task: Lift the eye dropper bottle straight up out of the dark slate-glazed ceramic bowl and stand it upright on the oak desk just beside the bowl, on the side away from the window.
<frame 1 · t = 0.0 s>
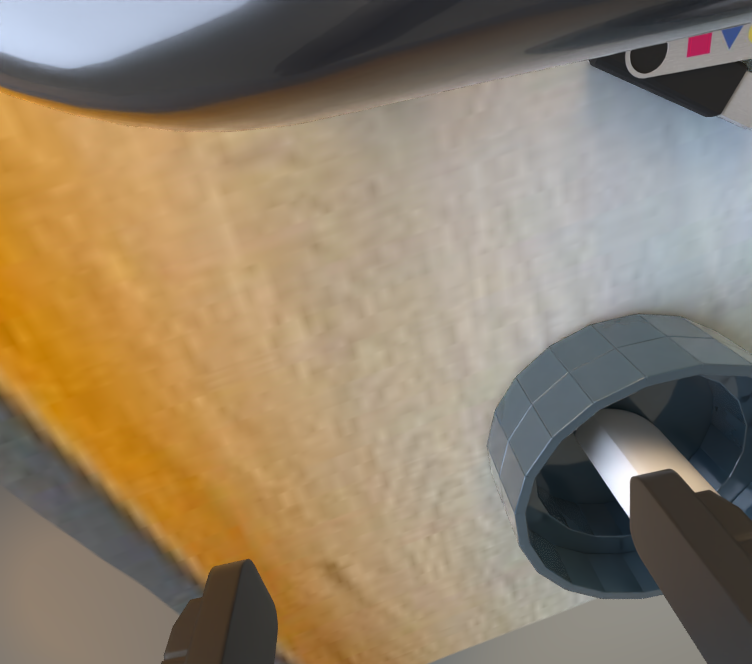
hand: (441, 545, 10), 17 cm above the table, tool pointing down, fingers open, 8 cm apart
bowl: (612, 427, 31), on the table
eye dropper bottle: (614, 430, 31), resting on bowl
usb flash drive: (693, 37, 22), on the table
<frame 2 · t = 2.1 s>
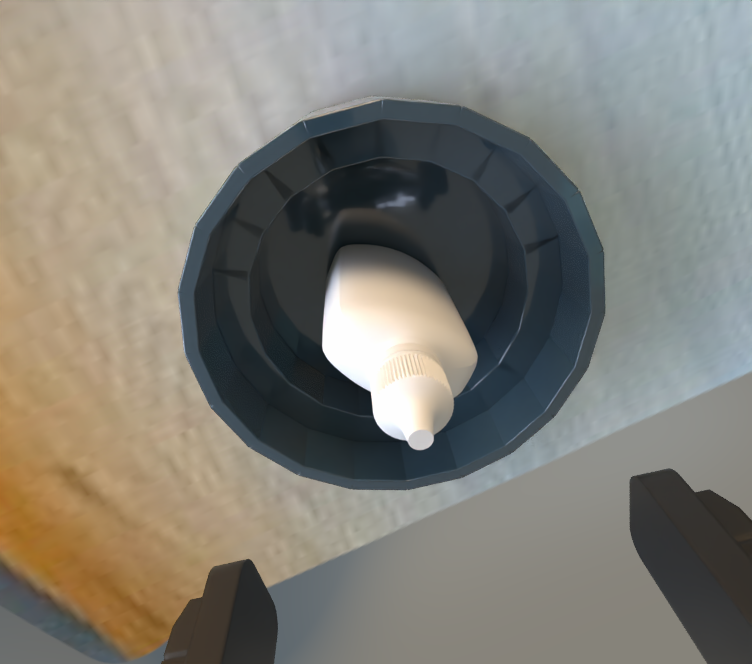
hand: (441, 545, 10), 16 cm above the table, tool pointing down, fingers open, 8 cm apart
bowl: (384, 278, 24), on the table
eye dropper bottle: (385, 280, 24), resting on bowl
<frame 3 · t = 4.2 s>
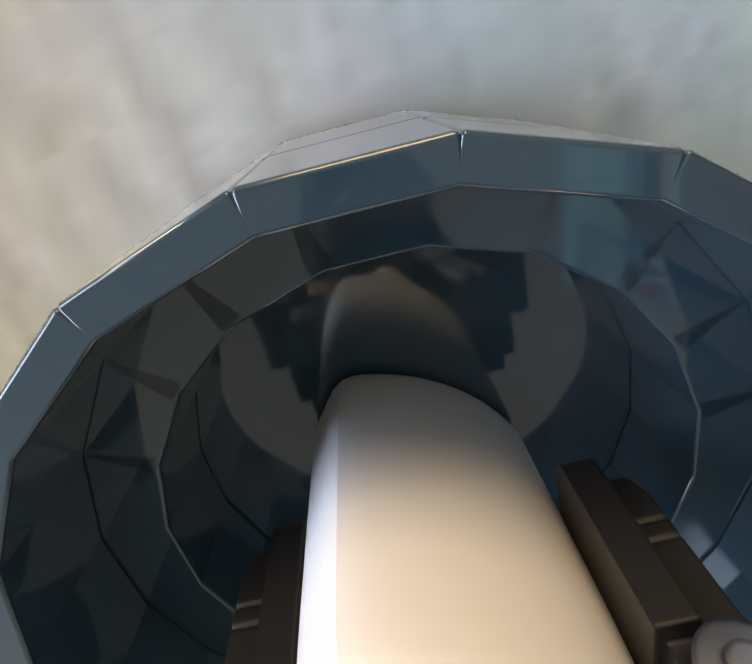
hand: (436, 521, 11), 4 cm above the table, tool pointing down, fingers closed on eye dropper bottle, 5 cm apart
bowl: (415, 419, 14), on the table
eye dropper bottle: (416, 424, 14), resting on bowl, touching gripper
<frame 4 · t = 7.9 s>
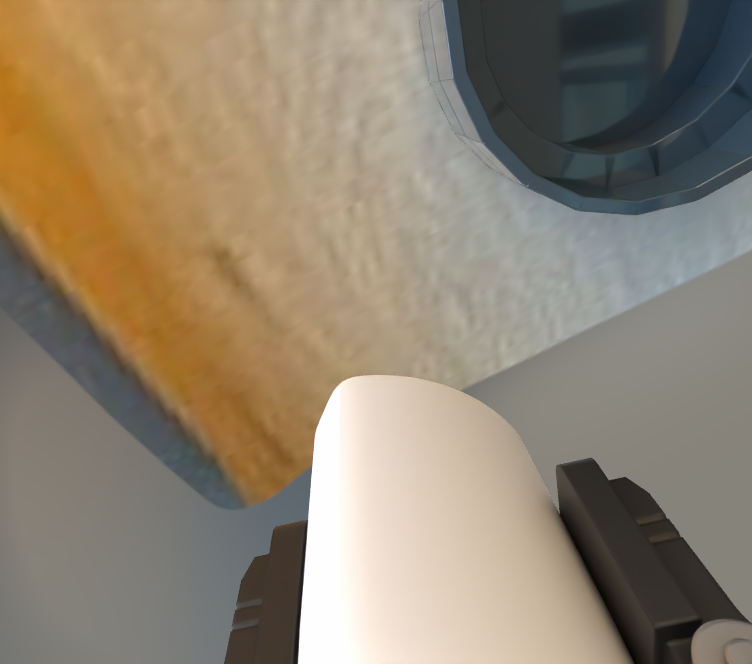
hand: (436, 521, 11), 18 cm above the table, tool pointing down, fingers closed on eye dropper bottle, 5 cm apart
bowl: (595, 6, 22), on the table
eye dropper bottle: (417, 425, 14), point 15 cm above the table, touching gripper
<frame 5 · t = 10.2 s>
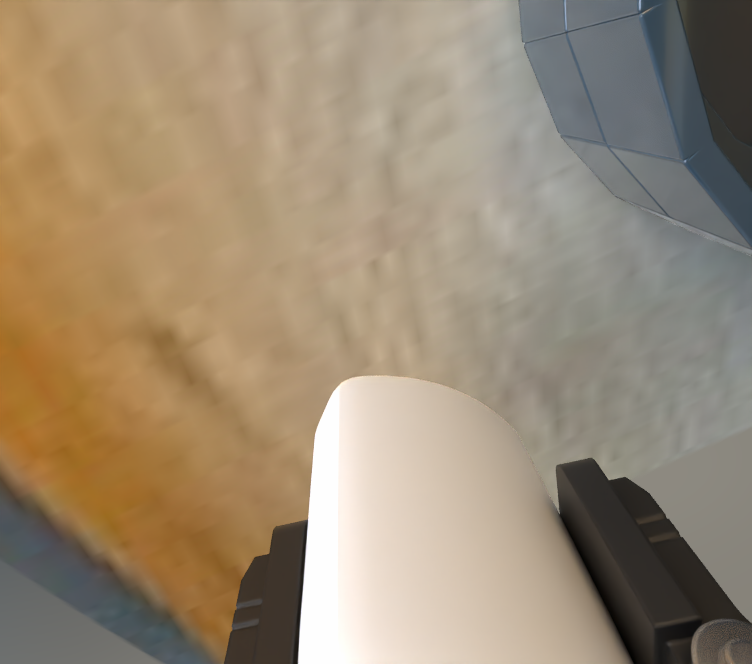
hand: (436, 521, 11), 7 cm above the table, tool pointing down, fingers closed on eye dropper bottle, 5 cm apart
eye dropper bottle: (416, 425, 14), point 3 cm above the table, touching gripper
when the fingers open (3 cm above the table, at t = 11.7 s): eye dropper bottle stays where it is, on the table.
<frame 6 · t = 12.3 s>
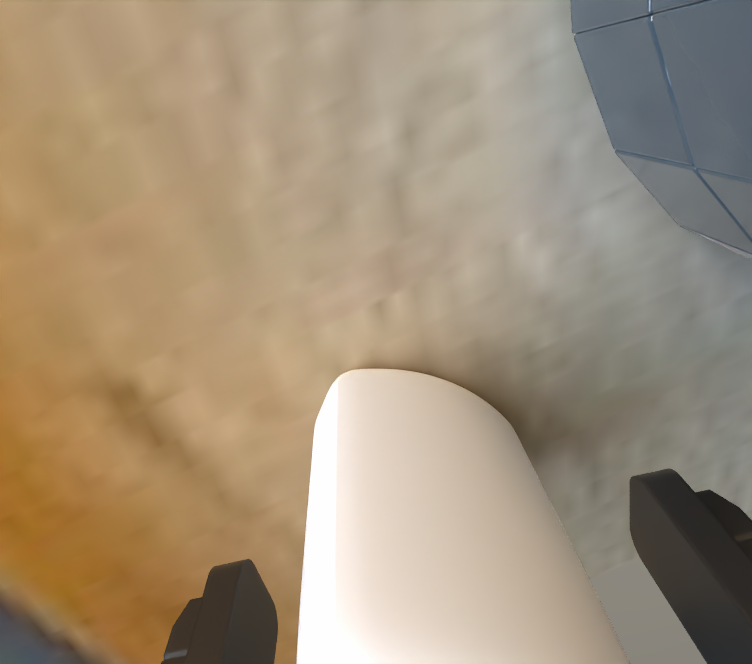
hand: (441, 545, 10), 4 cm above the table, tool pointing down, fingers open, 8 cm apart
eye dropper bottle: (413, 417, 14), on the table
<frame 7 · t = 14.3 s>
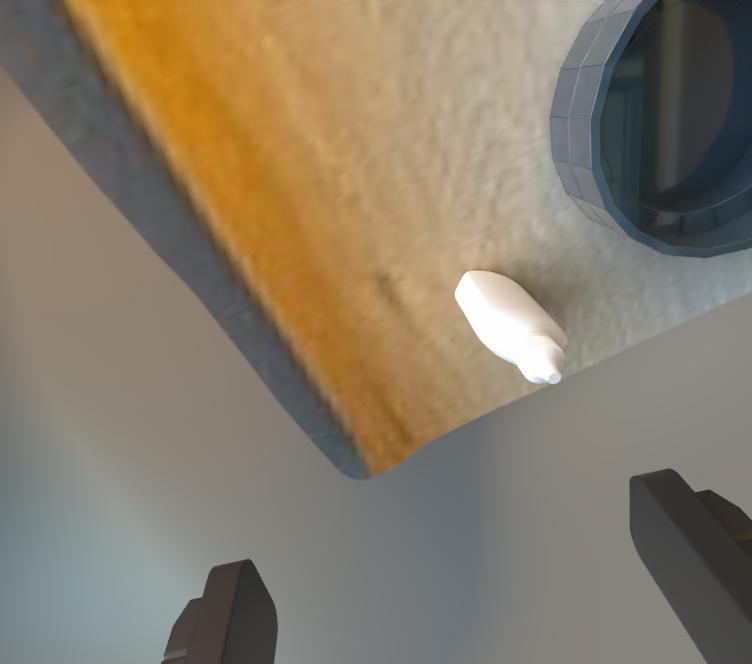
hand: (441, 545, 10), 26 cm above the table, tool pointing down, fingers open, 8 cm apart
bowl: (673, 107, 31), on the table
eye dropper bottle: (490, 293, 36), on the table
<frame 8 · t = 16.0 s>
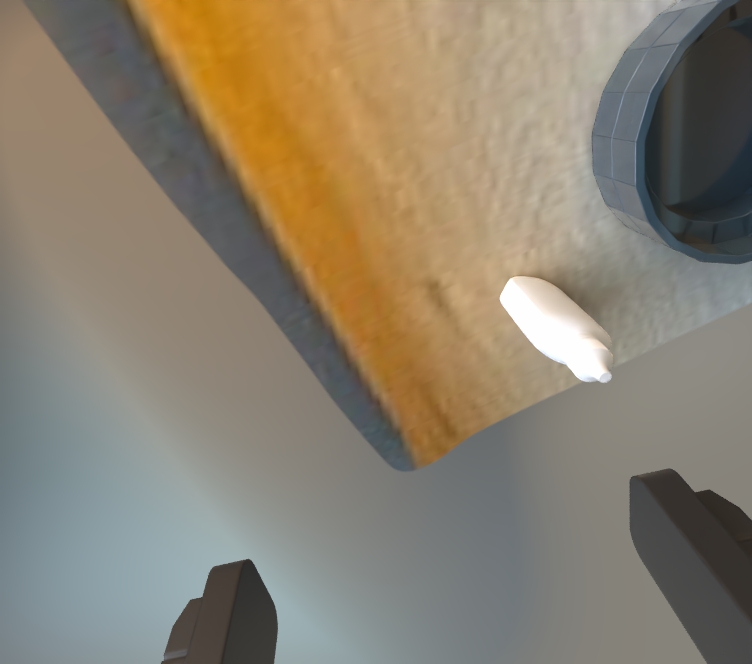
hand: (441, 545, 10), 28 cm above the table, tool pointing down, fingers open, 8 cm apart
bowl: (706, 123, 34), on the table
eye dropper bottle: (532, 297, 39), on the table
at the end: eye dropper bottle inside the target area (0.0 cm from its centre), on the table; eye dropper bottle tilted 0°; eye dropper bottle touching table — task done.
